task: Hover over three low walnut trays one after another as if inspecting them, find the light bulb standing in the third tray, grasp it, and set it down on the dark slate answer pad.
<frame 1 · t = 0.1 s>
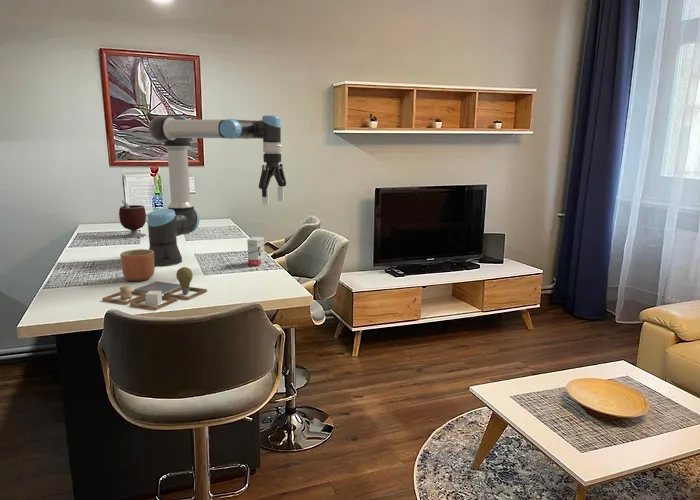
hand: (273, 202, 227), 28 cm above the counter, fingers open, 13 cm apart
tray 1: (126, 298, 185), on the counter
planter: (139, 279, 210), on the counter
light bulb: (185, 294, 190), resting in tray 3
tray 3: (185, 294, 190), on the counter
cork stub: (125, 293, 184), in the tray 1
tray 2: (154, 303, 179), on the counter
mate gourd: (133, 236, 298), on the counter
answer pad: (158, 288, 197), on the counter
grey cube: (153, 298, 179), in the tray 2
ink box: (256, 264, 236), on the counter
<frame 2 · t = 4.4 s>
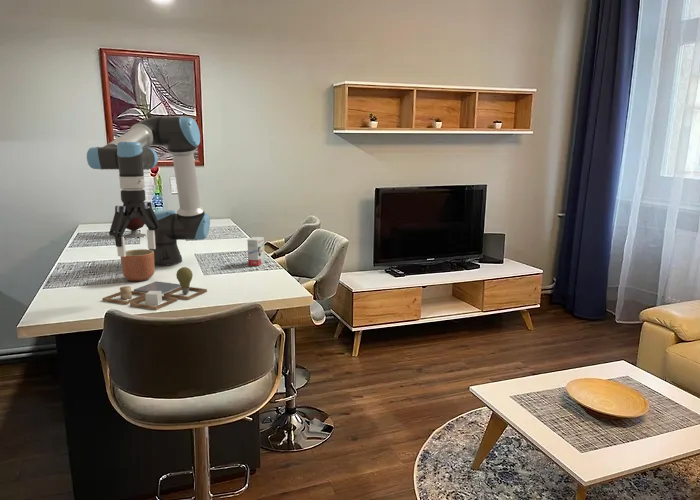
hand: (137, 252, 177), 17 cm above the counter, fingers open, 13 cm apart
nothing on the counter moved.
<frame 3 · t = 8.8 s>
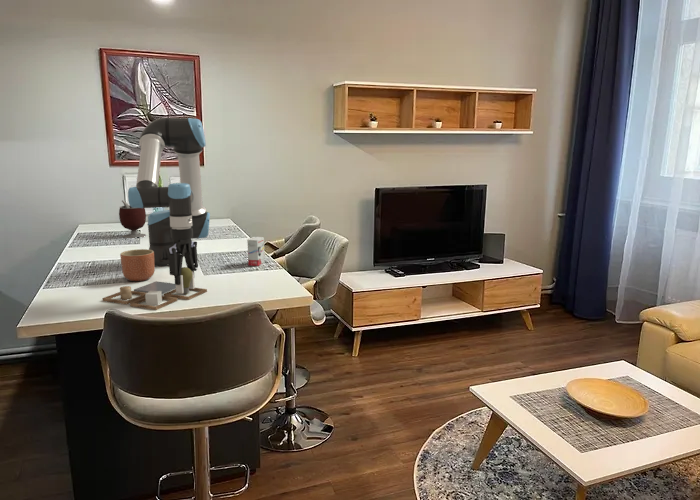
hand: (185, 290, 190), 1 cm above the counter, fingers closed on light bulb, 5 cm apart
light bulb: (185, 294, 190), resting in tray 3, touching gripper
everything else where it was.
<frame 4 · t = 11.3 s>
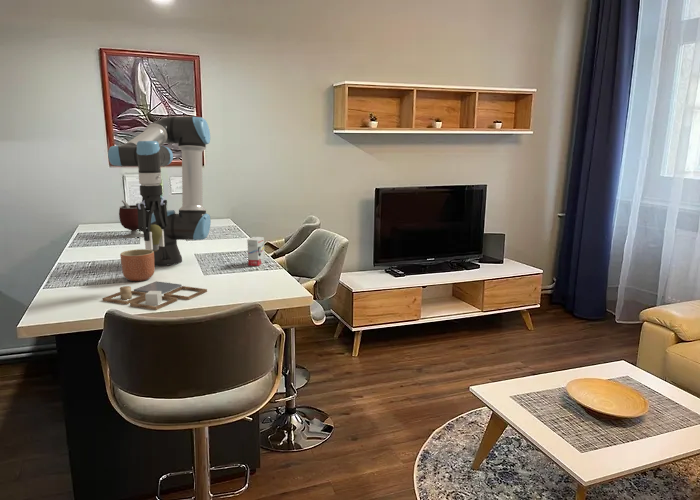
hand: (155, 247, 193), 16 cm above the counter, fingers closed on light bulb, 5 cm apart
light bulb: (155, 251, 194), point 14 cm above the counter, touching gripper
everything else where it was.
when the fingers open (3 cm above the counter, at t = 13.7 s): light bulb drops 1 cm, resting on answer pad.
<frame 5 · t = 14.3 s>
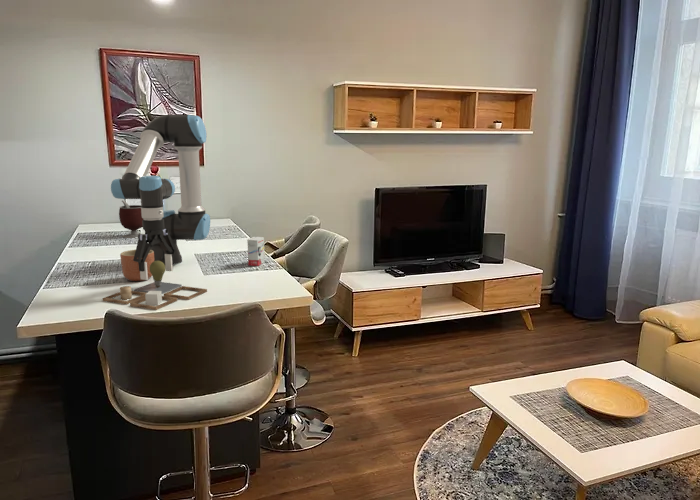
hand: (157, 275, 196), 5 cm above the counter, fingers open, 13 cm apart
light bulb: (158, 287, 197), resting on answer pad
everything else where it was.
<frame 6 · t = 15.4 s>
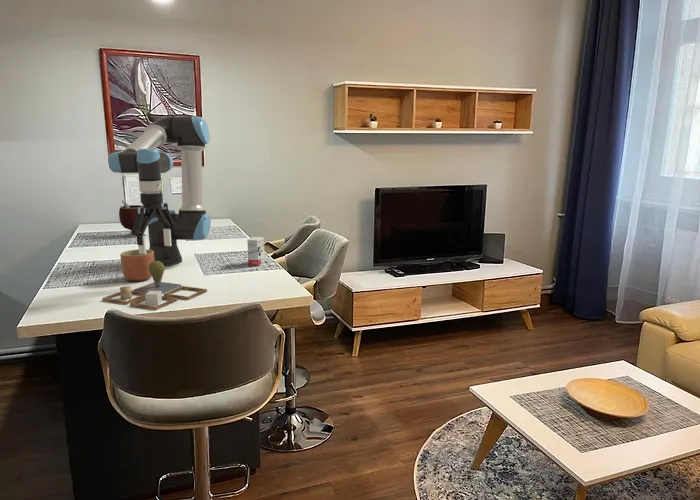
hand: (155, 249, 194), 15 cm above the counter, fingers open, 13 cm apart
nothing on the counter moved.
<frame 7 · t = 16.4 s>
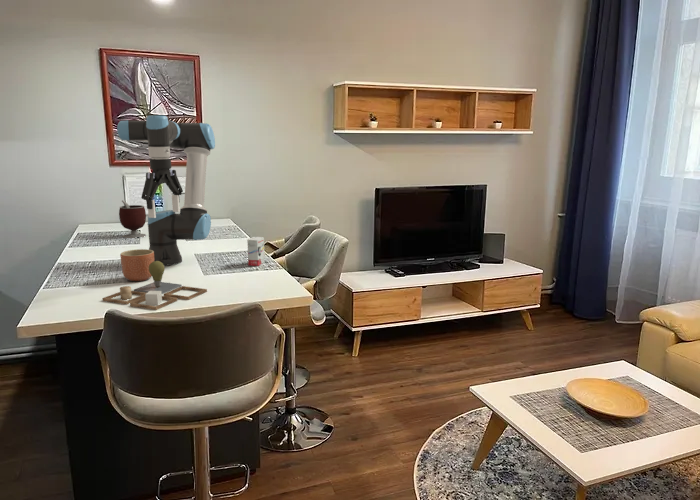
hand: (164, 214, 200), 27 cm above the counter, fingers open, 13 cm apart
nothing on the counter moved.
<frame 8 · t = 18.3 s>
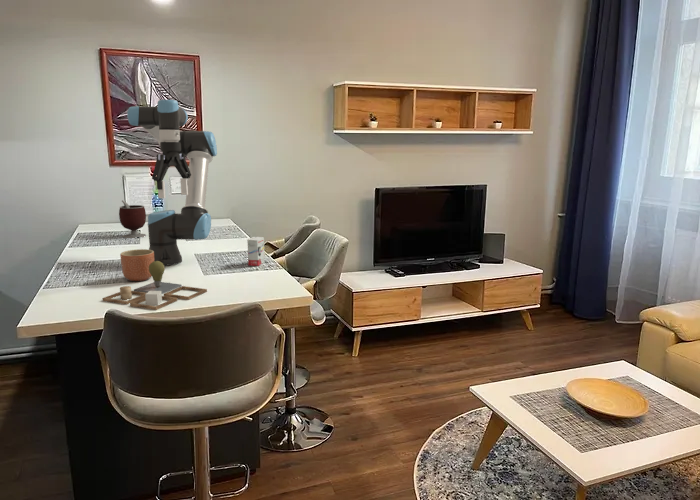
hand: (173, 196, 207), 33 cm above the counter, fingers open, 13 cm apart
nothing on the counter moved.
at the end: light bulb inside the target area on the answer pad (0.1 cm from its centre), point 0.4 cm above the answer pad's base; light bulb moved 14.2 cm from its start; the gripper is holding nothing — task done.
